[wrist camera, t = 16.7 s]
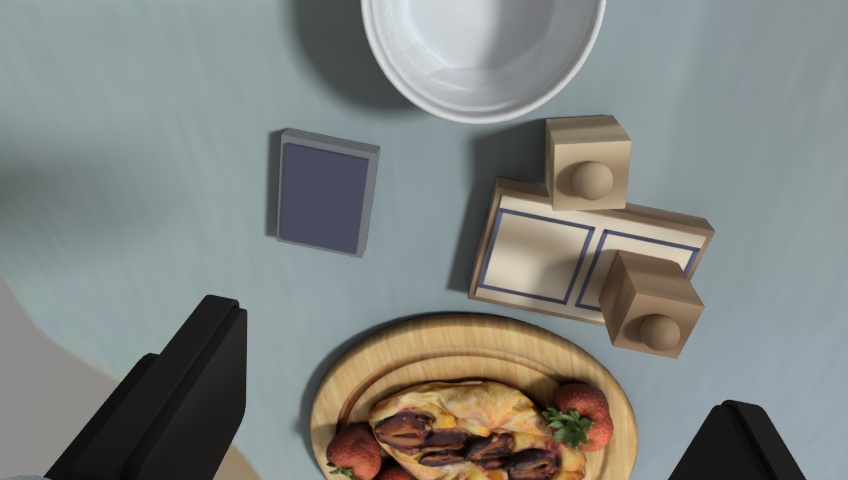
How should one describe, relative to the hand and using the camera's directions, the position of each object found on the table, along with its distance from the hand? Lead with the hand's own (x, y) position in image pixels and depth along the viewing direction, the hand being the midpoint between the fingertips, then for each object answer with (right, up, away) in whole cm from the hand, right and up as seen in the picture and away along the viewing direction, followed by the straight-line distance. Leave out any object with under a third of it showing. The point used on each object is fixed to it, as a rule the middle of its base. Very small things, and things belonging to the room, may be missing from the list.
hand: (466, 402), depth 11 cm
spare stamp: (+10, +10, +28) cm, 32 cm away
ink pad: (-8, +7, +32) cm, 34 cm away
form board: (+12, +2, +32) cm, 34 cm away
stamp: (+15, 0, +30) cm, 34 cm away
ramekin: (+3, +19, +24) cm, 31 cm away
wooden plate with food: (+4, -16, +44) cm, 47 cm away
